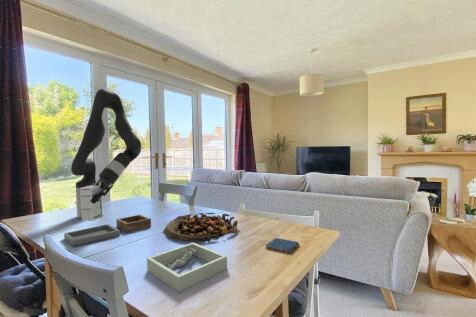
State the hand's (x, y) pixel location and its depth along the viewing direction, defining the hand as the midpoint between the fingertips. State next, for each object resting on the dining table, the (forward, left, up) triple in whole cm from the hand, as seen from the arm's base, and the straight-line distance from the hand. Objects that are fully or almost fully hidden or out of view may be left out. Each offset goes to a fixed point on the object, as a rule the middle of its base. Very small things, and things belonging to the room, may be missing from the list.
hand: (87, 201), depth 111 cm
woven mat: (+68, +48, -17) cm, 85 cm away
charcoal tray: (0, +1, -16) cm, 16 cm away
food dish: (+27, +40, -17) cm, 51 cm away
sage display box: (+56, +12, -16) cm, 59 cm away
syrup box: (0, +1, -8) cm, 8 cm away
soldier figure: (+52, +13, -16) cm, 56 cm away
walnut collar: (-1, +20, -16) cm, 26 cm away
